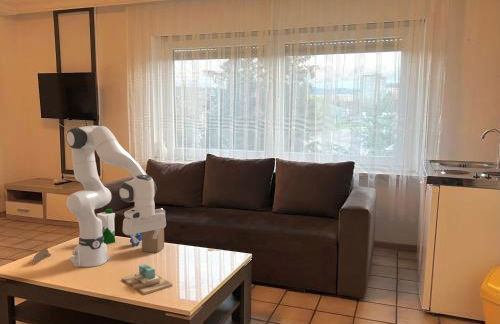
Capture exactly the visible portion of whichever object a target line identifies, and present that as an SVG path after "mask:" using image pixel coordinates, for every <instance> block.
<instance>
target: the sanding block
mask: <svg viewBox="0 0 500 324" xmlns="http://www.w3.org/2000/svg"><path fill="white" fill-rule="evenodd" d="M138 270H139V272H137V273H134V274H135V279H136V280H137V281H139V282H141V283H142V284H144V285H146V286H147V287H149V286H152V285H155V284H159V283H160V278H159V277H157V276H155V274H156V273H155V271H156V269H155V268H153V267H151V266H149V265H147V264H145V263H143V264H140V265H138Z"/></svg>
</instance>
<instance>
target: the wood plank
mask: <svg viewBox="0 0 500 324" xmlns="http://www.w3.org/2000/svg"><path fill="white" fill-rule="evenodd" d="M51 256H52V253H50V252H49V249H48V247H45V248H43V249H41V250H40V251H39V252H37V253H36V254H35V255H34V256H33V261H32V262H33V266H36V265H37V264H39V263H40V262H41V261H43V260H45V259H47V258H49V257H51Z"/></svg>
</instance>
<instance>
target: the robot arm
mask: <svg viewBox="0 0 500 324" xmlns="http://www.w3.org/2000/svg"><path fill="white" fill-rule="evenodd" d="M65 138H66V139H65V140H66V143H67V145H68V146H69V147H70V148H71V162H72V167H73V175H74V179H75V180H76V181H77V182H79V183H80V184H81V185H82V187H83V188H84V189H83V190H77V191H75V192H73V193H71V194H69V195H68V196H67V198H66V201H65V202H66V207H67V209H68V210H69V212H70V213H72V214H73V215H74V216H75V217H76V219H77V221H78V227H79V236H78V237H79V238H78V244H77V245H76V246H75V247H74V250H72V251H71V252H72V253H71V254H72V255H71V256H69V260H70V261H71V263H72V266H73V267H75V268H78V267H82V268H91V267H98V266H101V265H104V264H106V263H107V261H108V260H110V259H111V256H110V255H108V248H107V244H105V243H104V237H103V233H102V221H101V219H100V218H98V217H97V215H96V213H95V210H97V209H100V208H104V207H105V206H107V205H108V204H110V202H111V200H112V192H111V190H110V189H109V188H107V187H106V186H104V184H103V183H102V181H101V179H100V177H99V173H98V169H97V162H96V156H95V152H96V154H97V156H98V157H99V159H100V160H101V161H102V162H103V163H104V164H107V165H111V166H116V167H121V168H123V169H125V170H127V171H128V172H129V174H130V175H131V176H132V177H133V178H132V179H131V180H127V181H124V182H122V183H121V184H120V185H119V189H118V195H119V198H120V199H121V200H122V201H123V202H125V203H133V202H134V206H133V207H132V208H129V210H126V211H124V213H123V215H124V219H123V220H122V233H123V234H124V235H125V236H130V235H131V237H132V238H133V242H134V243H138V239H137V238H135V236H136V234H137V233H142V232H147V231H152V230H154V231H155V233H154V235H152V239H157V234H158V232H159V229H162V228H164V229H165V228H166V226H167V220H166V210H165V209H163V208H156V206H155V205H156V204H155V195H156V193H157V189H158V186H157V185H156V182H155V181H154V179H153V177H152V176H150V175H149V174H147V173H146V172H145V170H144V169H143V168H142V166H141V165H140V163H139V162H138V161H137V160H136V159H135V157H134V156H133V155H132V154H131V153H129V152H128V151H126V150H125V149H124V148H123V146H122V145H121V144H120V143H119V141H118V139H117V137H115V135H114V133H113V132H112V131H111V130H110V128H109V127H108V126H106V125H87V126H86V125H85V126H79V127H78V126H76V127H72V128H70V129H68V131H67V132H66V137H65ZM155 208H156V209H155ZM131 237H130V238H131Z"/></svg>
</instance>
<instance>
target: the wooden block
mask: <svg viewBox="0 0 500 324" xmlns="http://www.w3.org/2000/svg"><path fill="white" fill-rule="evenodd" d="M154 233H155V231H154V230H152V231H147V232H142V233H141V235H142V240H141V252H145V253H159V252H160V251H162V250H163V249H164V248H165V228H162V229H159V232H158V234H157V239H152V235H154Z"/></svg>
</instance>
